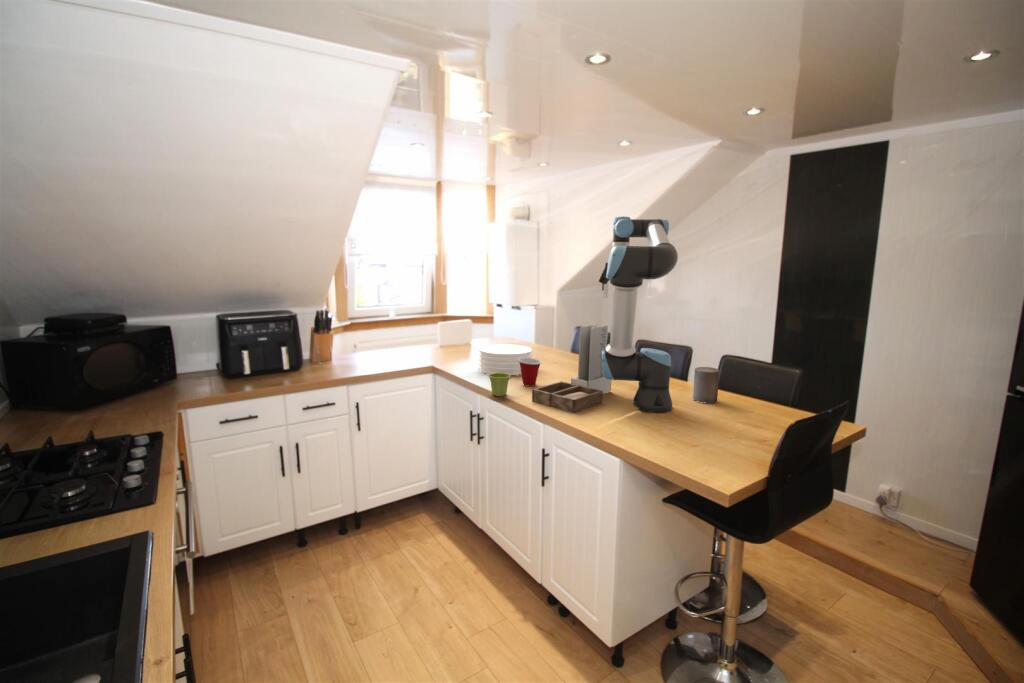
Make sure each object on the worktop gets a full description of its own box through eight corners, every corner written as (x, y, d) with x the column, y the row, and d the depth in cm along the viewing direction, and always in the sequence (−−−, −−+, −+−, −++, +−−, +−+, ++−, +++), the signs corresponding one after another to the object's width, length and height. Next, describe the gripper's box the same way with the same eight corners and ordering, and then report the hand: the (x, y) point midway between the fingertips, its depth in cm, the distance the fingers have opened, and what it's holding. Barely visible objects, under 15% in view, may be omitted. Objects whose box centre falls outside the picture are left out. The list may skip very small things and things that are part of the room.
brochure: (588, 398, 194) (591, 328, 189) (577, 396, 198) (579, 327, 193) (604, 392, 205) (607, 325, 200) (593, 389, 208) (596, 324, 204)
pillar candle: (720, 400, 195) (722, 365, 192) (713, 405, 187) (715, 369, 185) (696, 396, 201) (698, 362, 198) (689, 401, 193) (691, 366, 191)
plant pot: (487, 391, 203) (488, 372, 201) (509, 391, 204) (509, 372, 202) (489, 397, 193) (489, 377, 192) (511, 397, 194) (511, 377, 193)
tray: (602, 405, 185) (602, 390, 184) (573, 415, 172) (574, 400, 171) (560, 394, 200) (561, 381, 199) (532, 403, 186) (532, 389, 185)
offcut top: (594, 400, 183) (594, 395, 183) (570, 406, 175) (570, 401, 174) (580, 395, 189) (580, 391, 189) (555, 401, 181) (555, 397, 180)
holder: (610, 392, 205) (611, 374, 204) (587, 400, 192) (588, 381, 191) (594, 388, 211) (595, 371, 210) (570, 396, 198) (571, 378, 197)
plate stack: (468, 370, 245) (468, 348, 243) (503, 362, 266) (503, 342, 264) (507, 379, 227) (508, 356, 225) (542, 369, 248) (542, 349, 246)
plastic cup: (537, 388, 209) (538, 363, 207) (515, 386, 212) (515, 361, 210) (543, 383, 219) (544, 358, 217) (522, 381, 222) (522, 356, 220)
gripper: (649, 252, 202) (646, 300, 206) (601, 252, 219) (599, 296, 223) (641, 251, 197) (638, 300, 200) (592, 252, 214) (590, 297, 217)
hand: (618, 298), depth 212 cm, fingers open, 13 cm apart
